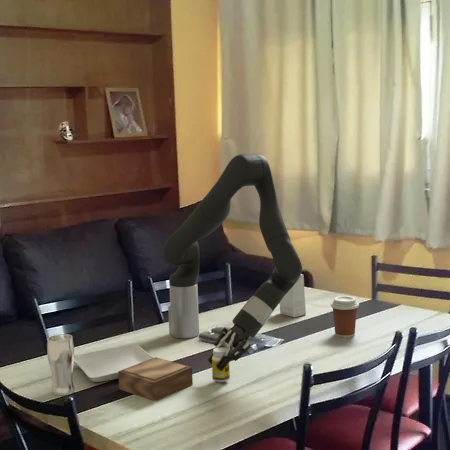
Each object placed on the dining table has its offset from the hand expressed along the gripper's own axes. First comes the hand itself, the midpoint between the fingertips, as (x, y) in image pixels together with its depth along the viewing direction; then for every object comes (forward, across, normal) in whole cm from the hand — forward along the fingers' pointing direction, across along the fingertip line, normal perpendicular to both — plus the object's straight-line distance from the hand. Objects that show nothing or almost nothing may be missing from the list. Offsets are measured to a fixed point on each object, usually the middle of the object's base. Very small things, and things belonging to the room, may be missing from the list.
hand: (214, 365), depth 199 cm
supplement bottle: (+2, 0, +4) cm, 5 cm away
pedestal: (+14, -5, -7) cm, 17 cm away
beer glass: (+31, -14, -23) cm, 41 cm away
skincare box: (-33, -48, +41) cm, 71 cm away
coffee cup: (-35, -19, +42) cm, 58 cm away
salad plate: (+19, -25, -11) cm, 33 cm away
